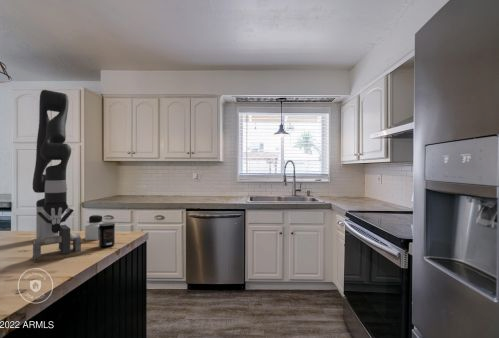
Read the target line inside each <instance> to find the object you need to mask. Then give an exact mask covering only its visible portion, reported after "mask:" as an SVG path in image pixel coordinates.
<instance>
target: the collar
mask: <svg viewBox="0 0 499 338" xmlns="http://www.w3.org/2000/svg"><path fill="white" fill-rule="evenodd" d="M70 234H71V228H70V227H69V226H68V225H67V224H60V231H58V236H62V243H58V249H59V251H61V252H62V253H63V254H65V253H70V249H71V241H70Z"/></svg>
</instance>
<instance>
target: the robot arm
mask: <svg viewBox="0 0 499 338" xmlns="http://www.w3.org/2000/svg"><path fill="white" fill-rule="evenodd" d="M38 107H39V109H38V110H39V112H38V114H39V115H38V118H39V119H38V128H37V129H38V130H37V139H36V150H35V151H36V152H35V153H36V154H35V165H34V172H33V178H32V190H33V192H34V193H36V194H42V193H43V194H44V197H43V198H41V199H38V200H37V201H36V202H35V203H36V207H35V208H36V210H35V211H36V219H35V221H36V224H35V226H36V228H35V230H36V231H35V236H36V237H35V239H39V238H46V237H54V236H59V231H60V225H61V224H62V223H65V222H66V221H67V219H69V217H70V216H71V215H72V214H73V212H74V208H70V207H69V205H68V204H67V199H68V198H67V193H68V192H67V191H68V188H67V185H68V184H67V167H68V162H69V160H70V158H71V154H72V147H71V146H70V145H69V144H68V143H65V142H66V141H67V138H66V136H67V135H66V127H67V126H66V125H67V120H68V111H69V96H68V95H67V94H66V93H63V92H57V91H55V90H54V91H53V90H49V89H48V90H47V89H42V90H41V92H40V94H39V105H38ZM48 111H49V112H56V113H57V114H56V115H55V116H54V117H52V118H51V119H50V117H49V115H48ZM51 161H60V163H58V164H55V165H49V164H50V163H51ZM48 165H49V166H48ZM44 172H45V174H44ZM64 213H65V214H64ZM62 215H63V216H62Z"/></svg>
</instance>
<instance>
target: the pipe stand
mask: <svg viewBox="0 0 499 338" xmlns="http://www.w3.org/2000/svg"><path fill="white" fill-rule="evenodd" d="M70 242H72V248H70V253H65V254H63V253H62V252H61V250H55V251H50V252H44V253H42V247H43V246H49V245H57V244H59V243H62V236H59V235H58V236H54V237H46V238H39V239H36V238H34V239H33V242H32V260H33V263H34V264H38V263H44V262H50V261H53V260H59V259H65V258H71V257H77V256H82V255H83V254H82V253H83V252H82V237H81V233H80V232H77V233H70Z"/></svg>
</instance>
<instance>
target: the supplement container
mask: <svg viewBox="0 0 499 338" xmlns="http://www.w3.org/2000/svg"><path fill="white" fill-rule="evenodd" d="M115 233H116V223H114V222H104V223H103V222H102V224H99V240H98V247H100V248H103V249H107V248H111V247H114V246H115V244H116V241H115V237H116V234H115Z"/></svg>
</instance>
